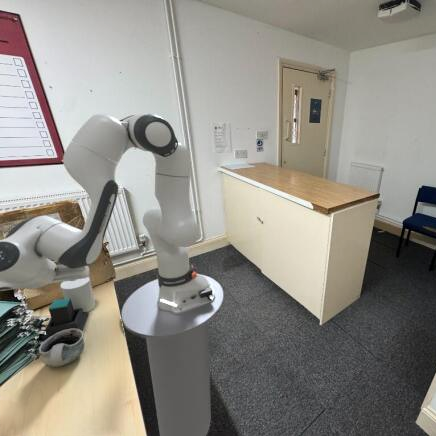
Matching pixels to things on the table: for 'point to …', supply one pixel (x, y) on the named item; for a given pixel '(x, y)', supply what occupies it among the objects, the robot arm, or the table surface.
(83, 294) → the cup
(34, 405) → the table surface
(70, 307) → the teal and black block
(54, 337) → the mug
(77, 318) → the black open tray
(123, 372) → the table surface
